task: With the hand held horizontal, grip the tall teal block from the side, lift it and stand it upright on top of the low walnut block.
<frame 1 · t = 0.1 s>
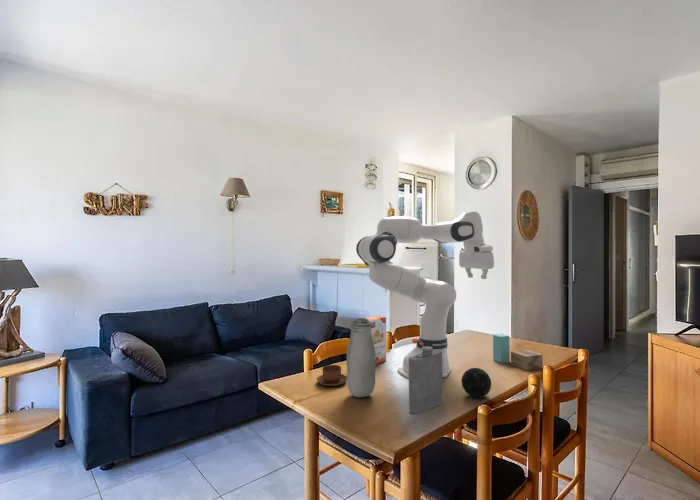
hand: (477, 278, 175), 39 cm above the table, tool pointing down, fingers open, 8 cm apart
glass bottle: (361, 396, 140), on the table
decorative stone: (476, 397, 138), on the table
cup and saucer: (332, 383, 154), on the table
teal block: (501, 361, 179), on the table
hip flask: (427, 407, 130), on the table
walnut base: (526, 366, 172), on the table
cracker box: (372, 363, 179), on the table
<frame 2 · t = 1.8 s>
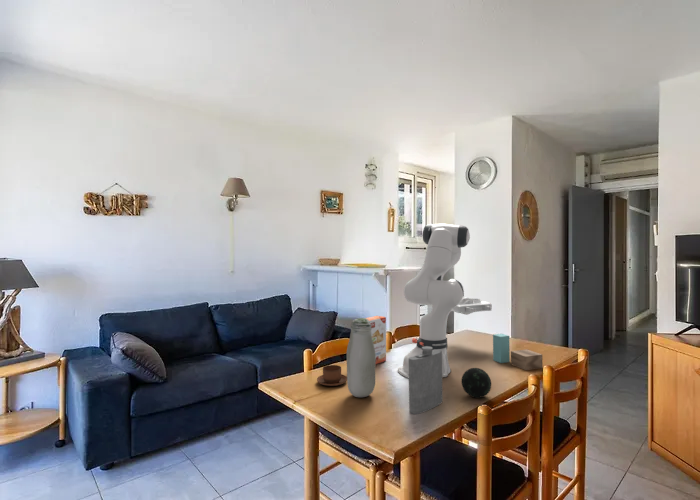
hand: (482, 309, 191), 22 cm above the table, tool horizontal, fingers open, 8 cm apart
nothing on the table moved.
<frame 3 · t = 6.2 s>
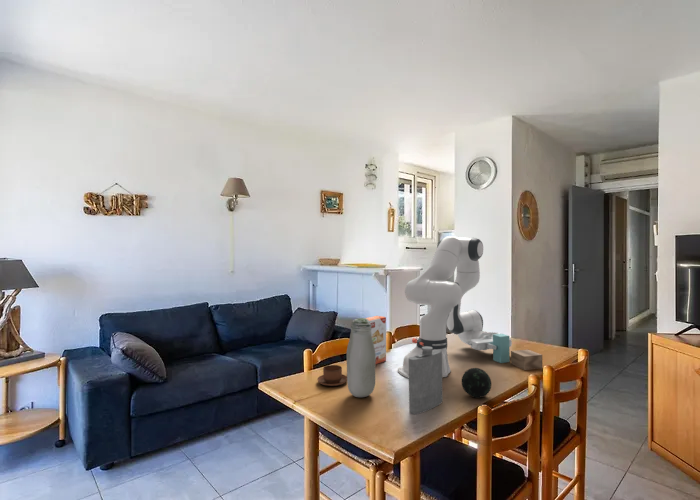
hand: (502, 347, 178), 7 cm above the table, tool horizontal, fingers closed on teal block, 5 cm apart
teal block: (501, 361, 179), on the table, touching gripper
everything else where it was.
when the fingers open (14 cm above the table, at t = 10.8 s): teal block drops 2 cm, resting on walnut base.
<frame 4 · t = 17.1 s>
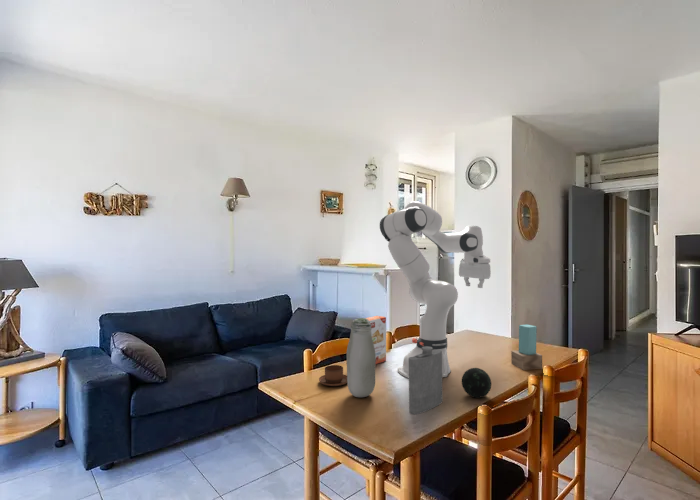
hand: (473, 287, 191), 33 cm above the table, tool pointing down, fingers open, 8 cm apart
teal block: (527, 353, 171), point 6 cm above the table, touching walnut base
walnut base: (526, 366, 171), on the table, touching teal block
everything else where it was.
at the end: teal block 0.4 cm off-centre on the walnut base, point 6.1 cm above the walnut base's base; teal block tilted 1°; the gripper is holding nothing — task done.
